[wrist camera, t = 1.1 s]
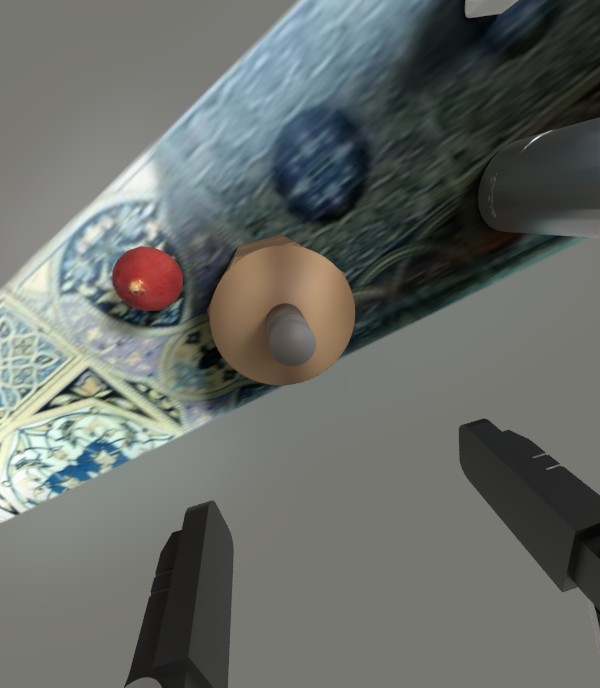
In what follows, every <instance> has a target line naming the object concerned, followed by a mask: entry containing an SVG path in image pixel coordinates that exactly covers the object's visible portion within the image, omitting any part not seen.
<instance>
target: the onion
mask: <svg viewBox="0 0 600 688" xmlns="http://www.w3.org/2000/svg"><path fill="white" fill-rule="evenodd" d="M112 274H113V286H114V288H115V290H116V292H117V294H118V295H119V297H120V298H121V299H122V300H123V301H125V302H126V303H127V304H128V305H129V306H130V307H134V308H137V309H140V310H143V311H158V310H161V309H164V308H166V307H169V306H170V305H171V304H172V303H173V302H174V301H175V300H176V299H177V298H178V297H179V295H180V292H181V290H182V288H183V274H182V272H181V270H180V268H179V266H178V264H177V263H176V262H175V261H174V260H173V259H172V258H171V257H170V256H169V255H168V254H166V253H164V252H162V251H160V250H158V249H156V248H149V247H142V246H141V247H138V248H135V249H132V250H129V251H127V252H126V253H125V254H123V255H122V256H121V257H120V258H119V259H118V260H117V262H116V264H115V266H114V269H113V272H112Z"/></svg>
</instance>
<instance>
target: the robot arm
mask: <svg viewBox="0 0 600 688" xmlns="http://www.w3.org/2000/svg"><path fill="white" fill-rule="evenodd" d="M478 206H479V210H480V213H481V216H482V218H483V219H484V221H485V222H486V223H487V224H488V225H489V226H490V227H491V228H493V229H495V230H498V231H502V232H517V233H531V234H547V235H564V236H581V237H598V238H600V118H596V119H592V120H589V121H585V122H582V123H578V124H575V125H571V126H568V127H564V128H560V129H557V130H553V131H549V132H546V133H542V134H539V135H535V136H532V137H528V138H525V139H521V140H518V141H514V142H512V143H511V144H509V145H507V146H505V147H504V148H503V149H501V150H500V151H499V152H498V153H497V154H496V155H495V156H494V157H493V159H492V160H491V161H490V163H489V164H488V166H487V167H486V169H485V171H484V174H483V176H482V178H481V182H480V186H479V191H478ZM459 452H460V453H459V455H460V464H461V467H462V470H463V471H464V474H465V475H466V477H467V478H468V480H469V481H470V482H471V484H472V485H473V486H474V487H475V488H476V489H477V491H478V492H479V493H480V494H481V495H482V496H483V498H484V499H485V500H486V501H487V503H488V504H489V505H490V506H491V507H492V509H493V510H494V511H495V512H496V513H497V515H498V516H499V517H500V518H501V519H502V521H503V522H504V523H505V524H506V525H507V527H508V528H509V529H510V530H511V531H512V533H513V534H514V535H515V536H516V537H517V539H518V540H519V541H520V542H521V543H522V545H523V546H524V547H525V548H526V549H527V551H528V552H529V553H530V554H531V555H532V557H533V558H534V559H535V560H536V561H537V563H538V564H539V565H540V566H541V567H542V569H543V570H544V571H545V572H546V573H547V575H548V576H549V577H550V578H551V579H552V581H553V582H554V583H555V584H556V585H557V587H558V588H559V589H560V590H561V591H562V592H565V591H568V590H570V589H574V588H576V587H579V588H580V590H581V591H582V592H583V593H584V594H585V595H586V596H587V597H588V599H589V600H588V605H589V610H590V615H591V620H592V623H593V628H594V633H595V637H596V641H597V646H598V650H599V655H600V495H599V494H597V493H596V492H595V491H593V490H592V489H591V488H590V487H588V486H587V485H586V484H584V483H583V482H582V481H581V480H579V479H578V478H577V477H576V476H575V475H573V474H572V473H571V472H569V471H568V470H567V469H566V468H565V467H561V466H560V464H559V463H558V462H557V461H556V460H554V459H553V458H552V457H550V456H549V455H546V453H545V452H544V451H543V450H542V449H541V448H539V447H538V446H537V445H536V444H534V443H533V442H532V441H531V440H529V439H528V438H525V437H523V436H521V435H518V434H516V433H514V432H512V431H510V430H507V431H503V432H502V431H501V430H499V429H498V428H497V427H496V426H495V425H494V424H492V423H491V422H490V421H489V420H487V419H480V420H477V421H474V422H471V423H467V424H464V425H461V426H460V427H459ZM232 575H233V541H232V536H231V533H230V531H229V528H228V526H227V524H226V522H225V520H224V519H223V517H222V515H221V513H220V511H219V509H218V507H217V505H216V503H215V502H214V501H209V502H206V503H202V504H199V505H196V506H193V507H190V508H188V509H187V510H186V513H185V517H184V522H183V526H182V530H180V531H176V532H173V533H172V534H171V536H170V538H169V539H168V541H167V543H166V545H165V546H164V548H163V550H162V551H161V554H160V558H159V562H158V565H157V570H156V577H155V578H154V581H153V585H152V589H151V596H150V597H149V601H148V604H147V608H146V612H145V615H144V619H143V623H142V627H141V631H140V635H139V639H138V643H137V646H136V650H135V654H134V658H133V662H132V665H131V669H130V673H129V676H128V679H127V681H126V684H125V686H124V688H228V666H229V645H230V622H231V599H232Z"/></svg>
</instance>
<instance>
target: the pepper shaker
mask: <svg viewBox="0 0 600 688" xmlns="http://www.w3.org/2000/svg"><path fill="white" fill-rule="evenodd" d="M517 1H518V0H465V15H466V17H467V18H475V17H482V16H489V15H495V14H501V13H503V12H504V11H505V10H507V9H508V8H509V7H510V6H512V5H513V4H514V3H515V2H517Z"/></svg>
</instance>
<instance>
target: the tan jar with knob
mask: <svg viewBox="0 0 600 688" xmlns="http://www.w3.org/2000/svg"><path fill="white" fill-rule="evenodd" d="M207 312H208V315H209V318H210V327H211V333H212V336H213V339H214V342H215V344H216V347H217V349H218V350H219V352H220V354H221V355H222V357H223V358H224V359H225V360H226V363H228V364H229V365H230V366H231V367H233V368H234V369H235V370H236V371H238V372H239V373H240V374H242V375H244V376H246V377H248V378H249V379H252V380H254V381H257V382H261V383H265V384H271V385H290V384H296V383H300V382H303V381H306V380H309V379H311V378H313V377H316V376H318V375H319V374H321V373H322V372H324V371H325V370H326V369H328V368H329V367H330V366H331V365H332V364H333V363H334V362H335V361H336V360H337V359H338V358H339V357H340V356H341V354H342V353H343V351H344V350H345V348H346V346H347V345H348V342H349V340H350V338H351V335H352V332H353V328H354V322H355V305H354V299H353V295H352V292H351V289H350V287H349V284H348V283H347V281H346V278H345V273H344V272H342V271H340V270H339V269H338V268H337V267H336V266H335V265H334V264H333V263H332V262H330V261H329V260H327V259H326V258H325V257H323V256H321V255H320V254H318V253H316V252H314V251H312V250H309V249H306V248H304V247H302V246H301V245H299V244H298V243H296V242H295V241H293V240H291V239H289V238H287V237H286V236H284V235H282V234H281V235H277V236H274V237H270V238H266V239H262V240H258V241H255V242H251V243H247V244H243V245H240V246H238V248H237V250H236V252H235V254H234V256H233V258H232V260H231V262H230V263H229V265H228V267H227V269H226V271H225V273H224V275H223V277H222V279H221V280H220V282H219V284H218V286H217V288H216V290H215V293H214V295H213V298H212V301H211V303H210V305H209V308H208V310H207Z"/></svg>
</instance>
